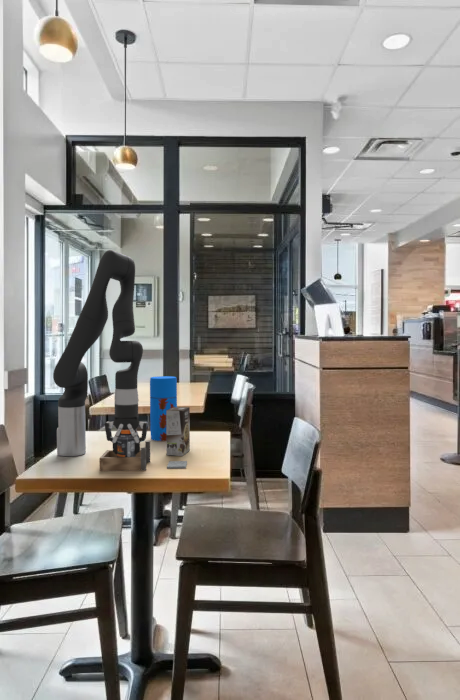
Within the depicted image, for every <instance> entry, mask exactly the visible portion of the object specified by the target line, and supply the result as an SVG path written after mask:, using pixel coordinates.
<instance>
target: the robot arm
mask: <svg viewBox="0 0 460 700" xmlns="http://www.w3.org/2000/svg"><path fill="white" fill-rule="evenodd" d="M111 279H112V280H115V281H117V282H119V286H120V293H119V295H118V297H117V299H116V300H115V303H114V304H113V307H112V312H111V319H112V340H111V343H110V347H109V352H108V353H109V357H110V359H111V360H112V362H114V363H118V364H119V363H124V364H125V363H130V365H129V366H128V367H127V368H123V369H120V370H117V371H116V372H115V374H114V375H115V377H114V378H115V380H114V382H115V384H114V385H115V387H114V388H115V389H114V390H115V391H114V420H113V421H110V420H109V421H106V422H105V423H104V429H105V430H104V431H105V437H106V441H108V442H111V443H112V450H113V452H115V454H117V438H118V437H119V435H120V432H121V430H125V429H128V430H130V432H131V434H132V436H133V437H134V439H135V441H136V443H135V454H138V453H139V451H140V450H141V442H144V441H145V440H146V439H147V433H148V427H149V426H148V425H149V422H148V421H141V420H140V419H139V401H140V400H139V391H138V375H139V374H138V373H139V369H140V368H139V367H140V365H141V361H142V357H143V353H144V349H143V345H142V343H141V342H140V341H139V340H122V339H124V338H128V337H131V336H132V335H134V334H135V332H136V326H135V315H134V296H135V295H134V294H135V284H136V283H135V281H136V264H135V260H134V259H133V258H132V257H131V256H129V255H126V254H123V253H121V252H118V251H115V250H114V249H108V250H106V251H105V252H104V253H103V254H102V256H101V258H100V260H99V263H98V265H97V268H96V271H95V275H94V278H93V281H92V285H91V287H90V290H89V292H88V295H87V297H86V301H85V302H84V304H83V306H82V309H81V310H80V313H79V316H78V317H77V321H76V323H75V326H74V328H73V331H72V333H71V335H70V337H69V340H68V342H67V344H66V346H65V349H64V350H63V353H62V354H61V356H60V357H59V360H58V361H57V363H56V365H55V367H54V370H53V374H52V375H53V376H52V377H53V381H54V383H55V385H56V386H57V387H59V388H61V389H63V388H64V391H63V394H62V395H61V396H60V397H59V398H58V401H57V403H58V404H57V407H58V408H57V409H58V410H57V411H58V414H57V415H58V416H57V417H58V419H57V420H58V427H57V428H56V455H57V456H61V457H78V456H81V455H82V456H83V455H84V454H86V452H87V450H86V449H87V446H86V443H87V442H86V441H87V440H86V439H87V437H86V400H87V398H88V389H89V387H88V384H89V383H88V381H89V376H88V369H87V367H86V365H85V364H84V363H83V362H82V360H83V359H84V357H85V355H86V353H87V352H88V351H89V350H90V348H92V346H93V345H94V344H95V343H96V341H97V340H98V339H99V338H100V336H101V335H102V334H103V330H104V329H105V326H106V324H107V322H108V320H109V319H108V318H109V310H108V309H109V308H108V301H107V291H108V290H107V289H108V285H109V283H110V280H111ZM113 426H114V428H115V429H116V432H115V434H114V436H113V435H112V428H113ZM139 426H140V429H142V430H141V431H142V432H141V436H140V435H139V432H138V431H137V428H138V427H139Z"/></svg>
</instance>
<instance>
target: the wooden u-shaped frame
mask: <svg viewBox="0 0 460 700" xmlns="http://www.w3.org/2000/svg"><path fill="white" fill-rule="evenodd" d="M144 441H145V440H144ZM144 445H145V446H144V447H140V451H139V453H138V454H136V457H117V454H115V452H113V449H109V450H108V449H107V450H105V452H104V453H102V455H101V456H100V457H99V459H98V460H99V461H98V462H99V471H101V472H103V471H104V472H105V471H107V472H108V471H109V472H110V471H112V472H113V471H114V472H116V471H121V470H129V471H146V470H147V463H151V441H150V440H146V441H145V442H144Z"/></svg>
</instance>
